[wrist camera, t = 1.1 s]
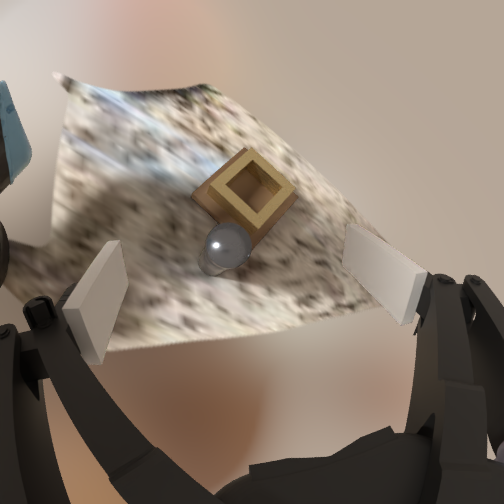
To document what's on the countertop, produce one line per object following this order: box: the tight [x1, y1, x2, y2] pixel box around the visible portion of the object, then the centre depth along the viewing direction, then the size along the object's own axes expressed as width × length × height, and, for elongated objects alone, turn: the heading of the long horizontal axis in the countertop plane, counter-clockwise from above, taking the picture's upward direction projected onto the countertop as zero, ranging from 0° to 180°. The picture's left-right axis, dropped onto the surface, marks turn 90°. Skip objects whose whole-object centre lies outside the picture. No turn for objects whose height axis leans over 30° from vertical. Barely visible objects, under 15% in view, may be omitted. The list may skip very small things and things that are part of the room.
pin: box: [199, 223, 252, 276], centre depth 35 cm, size 5×5×12 cm
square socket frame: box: [206, 147, 295, 235], centre depth 41 cm, size 9×9×4 cm
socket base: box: [191, 147, 298, 250], centre depth 43 cm, size 12×12×2 cm
